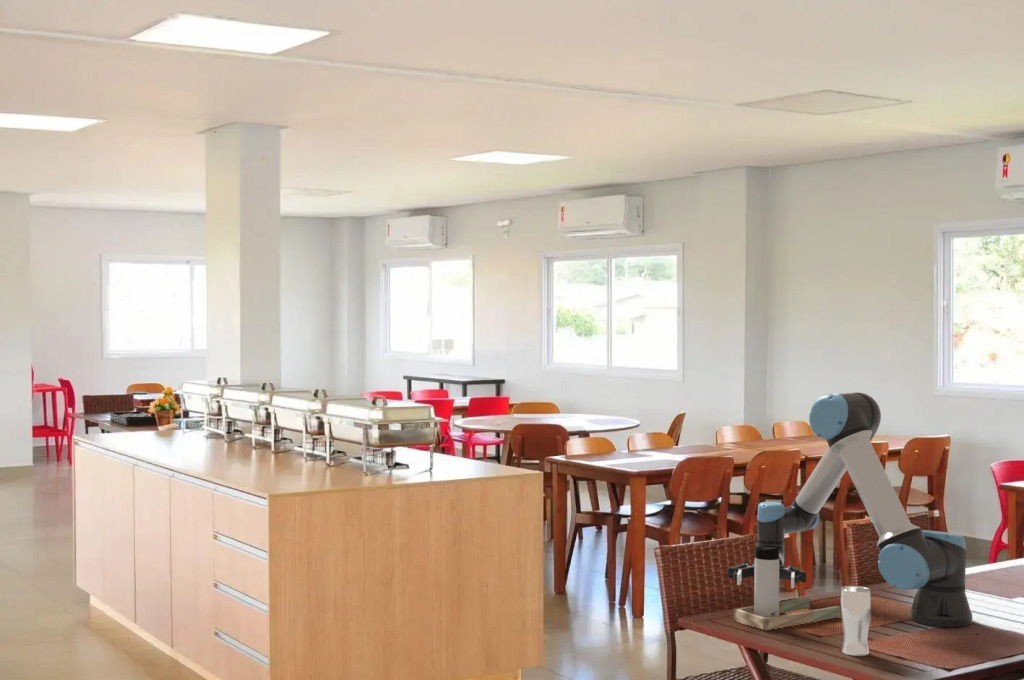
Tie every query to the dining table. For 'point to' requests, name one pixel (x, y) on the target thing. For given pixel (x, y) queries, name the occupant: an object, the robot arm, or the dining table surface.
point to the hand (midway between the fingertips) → (765, 581)
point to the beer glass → (855, 619)
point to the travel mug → (766, 581)
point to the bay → (763, 623)
